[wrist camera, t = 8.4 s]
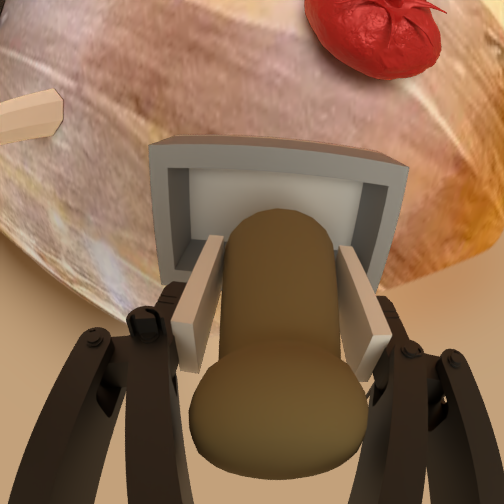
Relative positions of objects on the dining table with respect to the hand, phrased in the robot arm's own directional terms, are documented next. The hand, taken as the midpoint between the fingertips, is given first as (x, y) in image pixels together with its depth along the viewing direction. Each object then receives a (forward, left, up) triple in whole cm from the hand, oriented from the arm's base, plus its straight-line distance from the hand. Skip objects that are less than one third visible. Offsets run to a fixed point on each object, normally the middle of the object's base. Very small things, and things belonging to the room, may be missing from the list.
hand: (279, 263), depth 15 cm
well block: (0, 0, -10) cm, 10 cm away
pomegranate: (+6, +16, -10) cm, 20 cm away
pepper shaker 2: (0, 0, -1) cm, 1 cm away
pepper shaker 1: (-23, +9, -10) cm, 27 cm away
